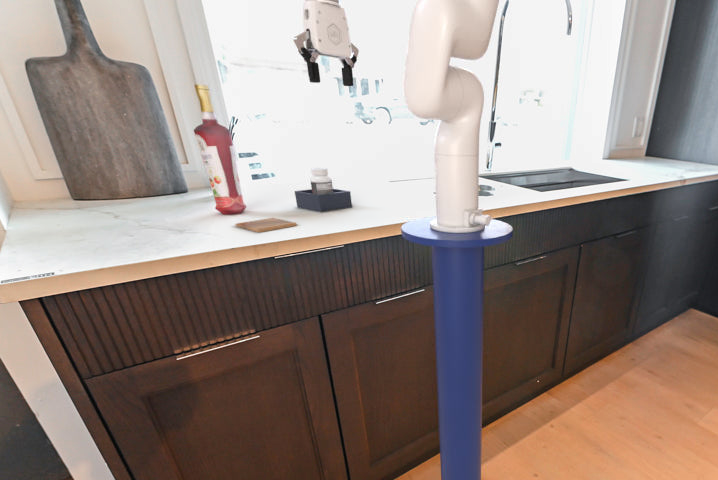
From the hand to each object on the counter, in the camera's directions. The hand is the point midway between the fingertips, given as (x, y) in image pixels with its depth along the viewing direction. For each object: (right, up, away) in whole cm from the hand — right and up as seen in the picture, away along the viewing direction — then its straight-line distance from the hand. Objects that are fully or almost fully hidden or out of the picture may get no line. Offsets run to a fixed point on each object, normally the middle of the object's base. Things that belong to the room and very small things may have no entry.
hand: (332, 84), depth 105 cm
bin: (-7, -26, +13) cm, 30 cm away
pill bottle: (-7, -26, +13) cm, 30 cm away
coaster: (-11, -37, -9) cm, 40 cm away
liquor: (-26, -31, +3) cm, 41 cm away
